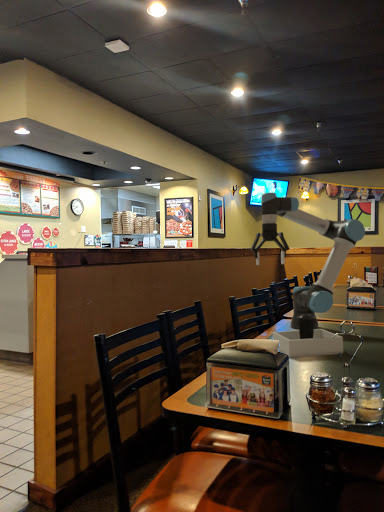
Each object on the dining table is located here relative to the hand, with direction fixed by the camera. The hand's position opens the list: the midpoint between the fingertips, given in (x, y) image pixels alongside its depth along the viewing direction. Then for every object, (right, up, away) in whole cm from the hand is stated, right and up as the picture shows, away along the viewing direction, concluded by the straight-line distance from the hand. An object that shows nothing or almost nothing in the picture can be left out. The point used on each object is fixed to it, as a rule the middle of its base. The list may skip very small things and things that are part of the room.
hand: (270, 264), depth 206 cm
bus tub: (+10, -37, -32) cm, 49 cm away
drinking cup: (+10, -36, -32) cm, 49 cm away
